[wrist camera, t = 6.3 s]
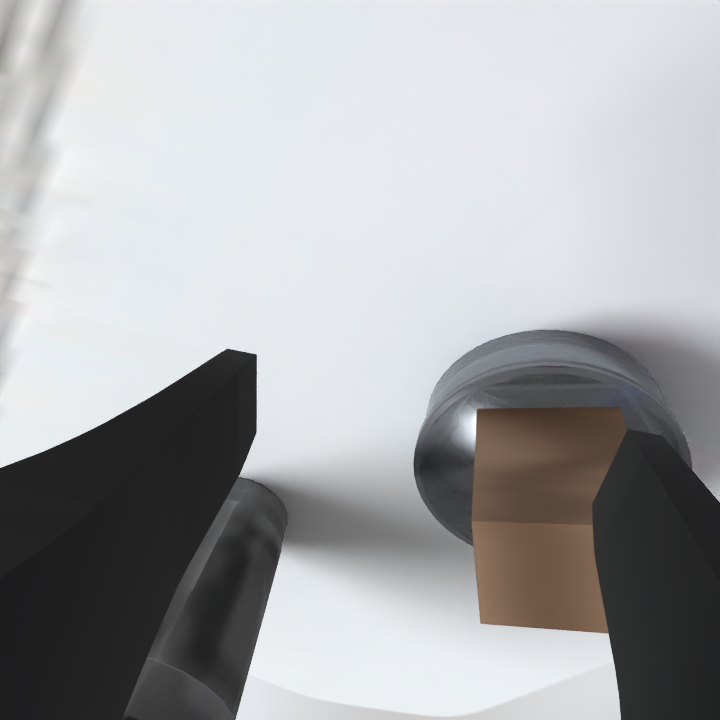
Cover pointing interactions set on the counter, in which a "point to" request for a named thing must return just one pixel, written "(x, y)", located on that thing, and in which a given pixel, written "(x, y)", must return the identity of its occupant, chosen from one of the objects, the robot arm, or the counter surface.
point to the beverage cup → (214, 614)
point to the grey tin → (526, 406)
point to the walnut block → (540, 514)
